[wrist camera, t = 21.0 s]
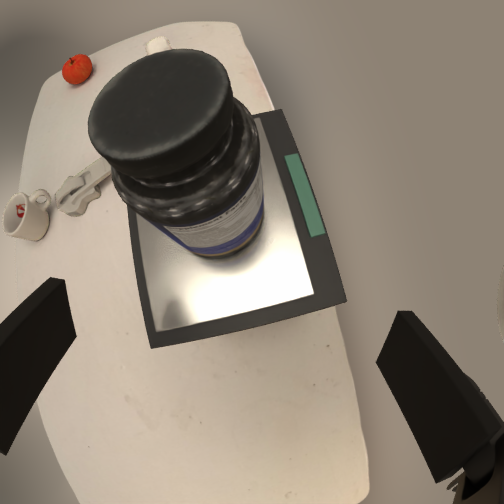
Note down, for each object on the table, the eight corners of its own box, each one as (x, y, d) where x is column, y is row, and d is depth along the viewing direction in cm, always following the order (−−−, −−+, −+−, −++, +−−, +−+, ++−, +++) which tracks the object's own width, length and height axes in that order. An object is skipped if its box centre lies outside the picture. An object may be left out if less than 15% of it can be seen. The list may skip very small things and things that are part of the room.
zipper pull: (147, 170, 44) (137, 157, 40) (67, 226, 43) (53, 219, 39) (133, 139, 46) (124, 127, 42) (59, 193, 45) (46, 185, 41)
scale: (338, 302, 20) (350, 301, 16) (163, 345, 20) (145, 350, 16) (281, 126, 23) (281, 102, 19) (136, 167, 23) (119, 149, 20)
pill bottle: (164, 184, 19) (78, 75, 8) (250, 158, 19) (228, 19, 8) (181, 271, 17) (65, 214, 7) (277, 244, 17) (283, 139, 6)
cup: (55, 188, 45) (30, 172, 38) (68, 214, 44) (41, 199, 36) (24, 225, 44) (-2, 214, 37) (35, 254, 43) (7, 244, 35)
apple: (75, 73, 53) (61, 55, 45) (99, 63, 53) (87, 43, 45) (67, 93, 51) (51, 75, 44) (92, 82, 51) (77, 62, 43)
